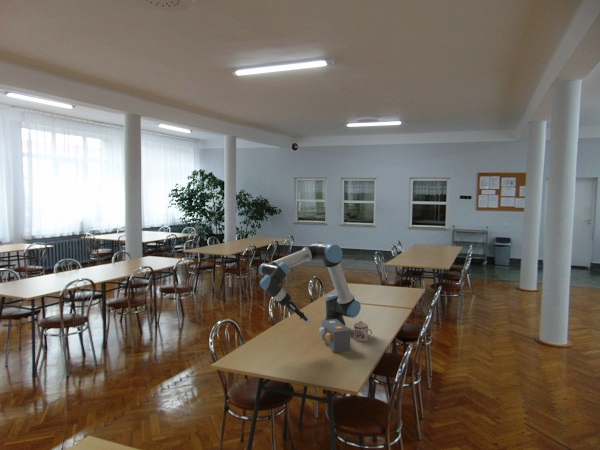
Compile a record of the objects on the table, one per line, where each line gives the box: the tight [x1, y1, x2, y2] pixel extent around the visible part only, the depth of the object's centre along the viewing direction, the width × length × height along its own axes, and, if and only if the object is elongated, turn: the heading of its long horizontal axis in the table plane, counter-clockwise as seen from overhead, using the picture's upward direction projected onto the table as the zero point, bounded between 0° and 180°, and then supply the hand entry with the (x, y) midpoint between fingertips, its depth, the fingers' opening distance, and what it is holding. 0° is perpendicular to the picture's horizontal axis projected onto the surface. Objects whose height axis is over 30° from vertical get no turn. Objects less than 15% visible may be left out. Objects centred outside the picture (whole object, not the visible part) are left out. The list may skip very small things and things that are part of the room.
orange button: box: [325, 333, 332, 341], centre depth 249 cm, size 4×4×4 cm
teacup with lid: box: [353, 320, 373, 342], centre depth 265 cm, size 12×9×12 cm
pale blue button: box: [319, 326, 326, 336], centre depth 261 cm, size 4×4×4 cm
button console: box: [321, 319, 351, 353], centre depth 257 cm, size 10×24×12 cm, turn 14°
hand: (310, 323), depth 246 cm, fingers closed
